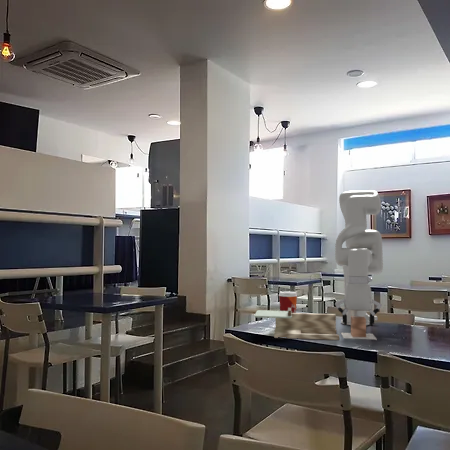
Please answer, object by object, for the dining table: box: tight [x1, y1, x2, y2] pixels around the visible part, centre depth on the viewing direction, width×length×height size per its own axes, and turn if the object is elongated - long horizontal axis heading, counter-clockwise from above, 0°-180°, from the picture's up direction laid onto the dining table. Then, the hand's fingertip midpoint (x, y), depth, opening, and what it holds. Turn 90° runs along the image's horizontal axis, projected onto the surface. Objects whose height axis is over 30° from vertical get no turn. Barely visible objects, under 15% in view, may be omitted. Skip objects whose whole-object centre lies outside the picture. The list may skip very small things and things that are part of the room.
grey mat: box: [340, 332, 378, 341], centre depth 181 cm, size 12×10×1 cm
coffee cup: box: [278, 291, 298, 313], centre depth 202 cm, size 8×8×15 cm
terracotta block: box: [350, 316, 367, 337], centre depth 181 cm, size 5×5×7 cm
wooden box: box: [273, 312, 340, 341], centre depth 184 cm, size 24×16×8 cm, turn 82°
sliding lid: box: [254, 308, 291, 319], centre depth 185 cm, size 14×15×3 cm
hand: (358, 325), depth 181 cm, fingers open, 9 cm apart
